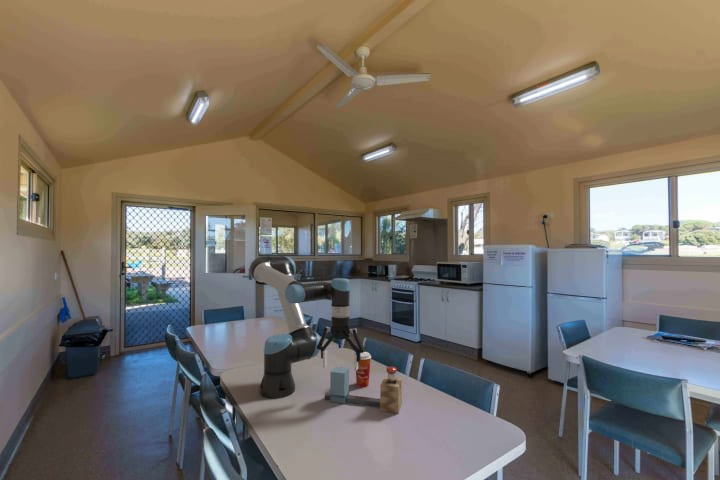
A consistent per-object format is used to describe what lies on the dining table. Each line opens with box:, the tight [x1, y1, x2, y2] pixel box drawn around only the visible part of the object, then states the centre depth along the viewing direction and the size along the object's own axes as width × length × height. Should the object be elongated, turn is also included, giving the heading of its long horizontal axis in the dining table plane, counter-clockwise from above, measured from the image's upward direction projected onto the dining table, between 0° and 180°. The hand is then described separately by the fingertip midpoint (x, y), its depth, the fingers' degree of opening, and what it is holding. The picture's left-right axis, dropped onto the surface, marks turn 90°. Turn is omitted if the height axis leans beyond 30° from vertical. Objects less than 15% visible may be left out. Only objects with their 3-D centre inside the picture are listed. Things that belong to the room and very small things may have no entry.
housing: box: [379, 376, 403, 414], centre depth 133 cm, size 7×9×10 cm
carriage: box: [329, 366, 350, 405], centre depth 139 cm, size 6×6×12 cm
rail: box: [324, 391, 380, 408], centre depth 137 cm, size 24×3×2 cm, turn 74°
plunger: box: [385, 366, 398, 384], centre depth 133 cm, size 4×4×6 cm
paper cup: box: [355, 351, 372, 388], centre depth 155 cm, size 8×8×14 cm
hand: (340, 368), depth 139 cm, fingers open, 13 cm apart
